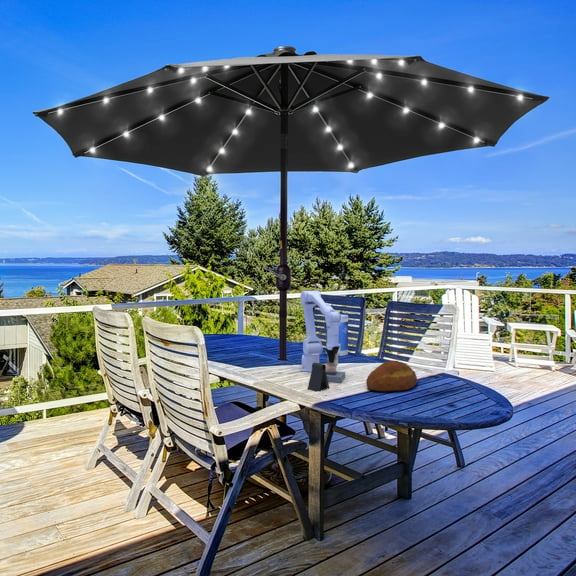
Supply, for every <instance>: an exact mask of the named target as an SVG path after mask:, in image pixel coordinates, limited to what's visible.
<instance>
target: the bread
mask: <svg viewBox="0 0 576 576" xmlns="http://www.w3.org/2000/svg"><path fill="white" fill-rule="evenodd" d="M417 382H418V376H417V374H416V372H415V371H414V369H412V367H411V366H410V365H408V364H406V363H404V362H403V361H399V360H389V361H384V362H383V363H381V364H380V365H378V366H377V367H376V368H375V369H374V370H372V371H371V372H370V373H369V374H368V376H367V378H366V381H365V383H366V384H365V385H366V388H368V389H370V390H371V391H374V392H401V391H406V390H409V389H411V388H414V387H415V386H416V384H417Z"/></svg>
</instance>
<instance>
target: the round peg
mask: <svg viewBox="0 0 576 576" xmlns="http://www.w3.org/2000/svg"><path fill="white" fill-rule="evenodd" d="M324 364H325V365H326V371H337V367H332V366H328V363H324Z"/></svg>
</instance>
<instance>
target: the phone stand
mask: <svg viewBox="0 0 576 576" xmlns="http://www.w3.org/2000/svg"><path fill="white" fill-rule="evenodd" d="M325 364H326V363H320V362H319V363H313V364H312V371H311V372H310V378H309V381H308V385H307V390H309V389H310V390H309V391H313V390H314V392H317V391H319V392H321V390H322V391H325V390H327V388H328V389H330V384H329V383H330V382H328V379H327V374H326V365H325Z"/></svg>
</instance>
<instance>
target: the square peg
mask: <svg viewBox="0 0 576 576" xmlns="http://www.w3.org/2000/svg"><path fill="white" fill-rule="evenodd" d="M327 364H328V366H332V367H336V368H337V366H338V365H339V355H338V353H336V354H335V358H334V363H329V358H328V357H327Z"/></svg>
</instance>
